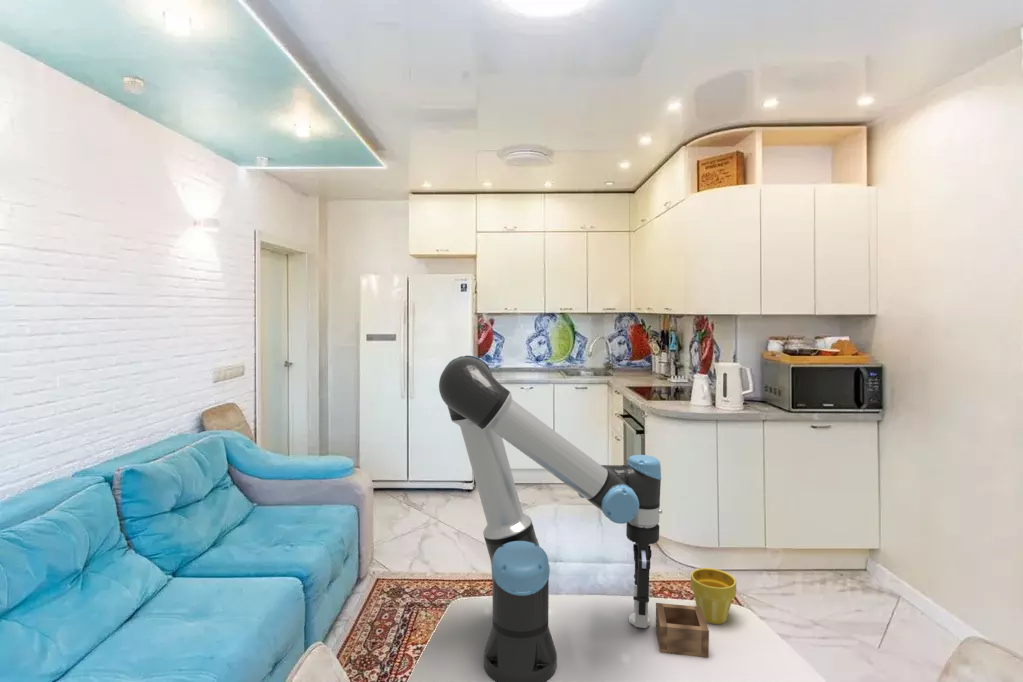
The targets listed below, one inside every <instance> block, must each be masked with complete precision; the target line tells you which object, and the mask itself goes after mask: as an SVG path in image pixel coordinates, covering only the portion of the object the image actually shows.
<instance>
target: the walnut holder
mask: <svg viewBox="0 0 1023 682" xmlns="http://www.w3.org/2000/svg"><path fill="white" fill-rule="evenodd" d="M655 631H656V637H657V644H658V649H659V650H658V651H659V654H668V655H674V656H675V655H676V656H677V655H678V656H686V657H696V658H704V659H705V658H706V659H709V657H710V655H709V654H710V653H709V651H710V649H709V647H710V646H709V645H710V630H709V626H708V624H707V622H706V621H705V618H704V615H703V612H702V609H701V607H697V606H696V605H686V604H685V605H683V604H682V605H681V604H673V603H663V602H661V603H660V602H656V603H655Z"/></svg>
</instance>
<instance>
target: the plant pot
mask: <svg viewBox="0 0 1023 682" xmlns="http://www.w3.org/2000/svg"><path fill="white" fill-rule="evenodd" d="M690 589H691V591H692V592H693V595H694V601H695V606H697V607H701V609H702V612H703V615H704V618H705V621H706V623H709V624H713V625H722V624H725V623H726V622H727V620H728V616H729V613H730V609H731V605H732V602H733V599H735V598H736V595H737V580H736V578H735V577H734V576H733V575H732V574H730V573H729V572H726V571H724V570H722V569H717V568H710V567H700V568H696V569H693V571H692V572H691V573H690Z"/></svg>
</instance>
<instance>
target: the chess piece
mask: <svg viewBox="0 0 1023 682" xmlns="http://www.w3.org/2000/svg"><path fill="white" fill-rule="evenodd" d="M636 589H637V587H636ZM628 621H629V623H630V624H632V625H633V626H635V613H634V612H632V613H631V614H629V618H628ZM649 626H651V618H650V617H649V616H648V621H647V627H649Z"/></svg>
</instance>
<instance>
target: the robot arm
mask: <svg viewBox="0 0 1023 682" xmlns="http://www.w3.org/2000/svg"><path fill="white" fill-rule="evenodd" d="M438 389H439V390H438V391H439V394H440V397H441V399H442V401H443V402H444V404H445V405H446V406H447V410H448V412H449V416H450V419H451V422H453V423H454V424H456V425H458V426H459V427H460V430H461V434H462V435H461V436H462V438H463V442H464V444H465V449H466V453H467V456H468V459H469V463H470V466H471V470H472V474H473V477H474V480H475V484H476V489H477V492H478V495H479V498H480V502H481V507H482V510H483V514H484V517H485V521H486V526H485V528H484V530H483V538H484V542H485V544H486V548H487V549H486V550H487V552H488V557H489V560H490V565H491V566H490V568H491V582H492V587H491V588H492V626H491V629H490V633H489V635H488V639H487V642H486V645H485V648H484V653H483V667H484V670H485V672H486V673H487V675H488V677H490V678H491V679H492V680H494V681H496V682H546V681H547V680H549V679H550V678H551V677H553V676H554V674H555V673H556V670H557V665H558V663H557V661H558V660H557V659H558V655H557V654H558V653H557V650H556V646H555V643H554V639H553V636H552V634H551V631H550V628H549V608H550V607H549V604H550V603H549V601H550V599H549V594H550V593H549V588H550V587H549V583H550V581H549V578H550V572H551V570H550V564H549V556H548V555H547V552H546V551H545V550H544V548H542V547H541V546H540V543H539V539H538V538H537V535H536V532H535V529H534V525H533V521H532V518H531V517H530V516H529V515H527V514H525V513H524V512H523V508H522V505H521V502H520V498H519V495H518V491H517V490H518V489H517V487H516V484H515V479H514V476H513V472H512V470H511V465H510V461H509V457H508V455H507V450H506V446H505V444H504V440H505V441H506V442H507V443H509V445H510V444H511V445H512V446H513V447H515V448H516V449H518V450H519V451H520V452H521V453H523V454H524V455H525V456H527V457H528V458H529V459H531V460H532V461H534V462H535V463H536V464H538V465H539V466H540V467H542V468H543V469H545V470H546V471H547V472H549V473H550V474H552V475H553V476H554V477H556V479H558V480H560V481H561V482H563V483H564V484H565V485H567V486H568V487H569V488H570V489H572V490H573V491H575V492H576V493H577V495H578V497H580V498H582V499H586V500H587V501H588V502H589V503H591V504H592V506H593V505H594V507H596V508H597V509H599V511H601V512H602V513H603V515H604V516H605V517H606V518H607V519H609V520H610V521H611V522H613V523H615V524H619V525H621V524H622V525H623V524H626V528H625V529H626V534H625V535H626V538H627V540H629V541H631V542H632V543H633V545H632V546H633V548H632V550H633V561H634V574H633V578H634V585H635V586H634V591H633V595H634V596H632V597H633V613H635V625H634V626H635V627H636V628H642V629H648V626H647V621H648V617H649V615H648V612H649V602H650V598H649V597H650V569H651V558H652V549H651V548H652V547H651V545H654V544H657V543H658V542H659V540H660V525H659V523H660V515H661V514H663V509H660V508H661V507H660V506H661V504H660V503H661V485H662V484H661V482H662V468H661V461H660V460H659V459H658V458H657V457H655V456H652V455H647V454H635V455H634V454H633V455H631V456H628V460H627V462H626V463H627V464H623V465H622V464H620V465H618V464H614V465H613V464H600V463H598V461H596V460H595V459H593V458H592V457H590V456H589V455H588V454H586V453H585V452H584V451H582V450H581V449H580V448H579V447H577V446H576V445H574V444H573V443H572V442H570V441H569V440H567V438H564V437H563V436H562V435H561V434H559V433H558V432H557V431H555V430H554V429H552V428H551V427H550V426H548V425H547V424H546V423H545V422H543V421H542V420H541V419H539V418H538V417H537V416H535V415H534V414H532V412H529V411H528V410H527V409H526V408H525V407H523V406H522V405H520V404H519V403H518V402H517V401H515V400H514V399H513V397H512V392H511V391H510V390H509V389H507V388H506V387H505V386H503V385H502V384H501V383H500V382H499V381H497V379H496V378H495V377H494V376H493V373H492V369H491V368H490V366H489V365H488V363H486V361H484V360H483V359H482V358H480V357H478V356H476V355H475V356H474V355H468V354H467V355H463V356H462V355H461V356H458V357H456V358H453V359H452V360H450V362H448V363H447V364H446V366H445V367H444V369H443V371H442V373H441V374H440V377H439V382H438ZM636 587H637V589H636Z"/></svg>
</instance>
